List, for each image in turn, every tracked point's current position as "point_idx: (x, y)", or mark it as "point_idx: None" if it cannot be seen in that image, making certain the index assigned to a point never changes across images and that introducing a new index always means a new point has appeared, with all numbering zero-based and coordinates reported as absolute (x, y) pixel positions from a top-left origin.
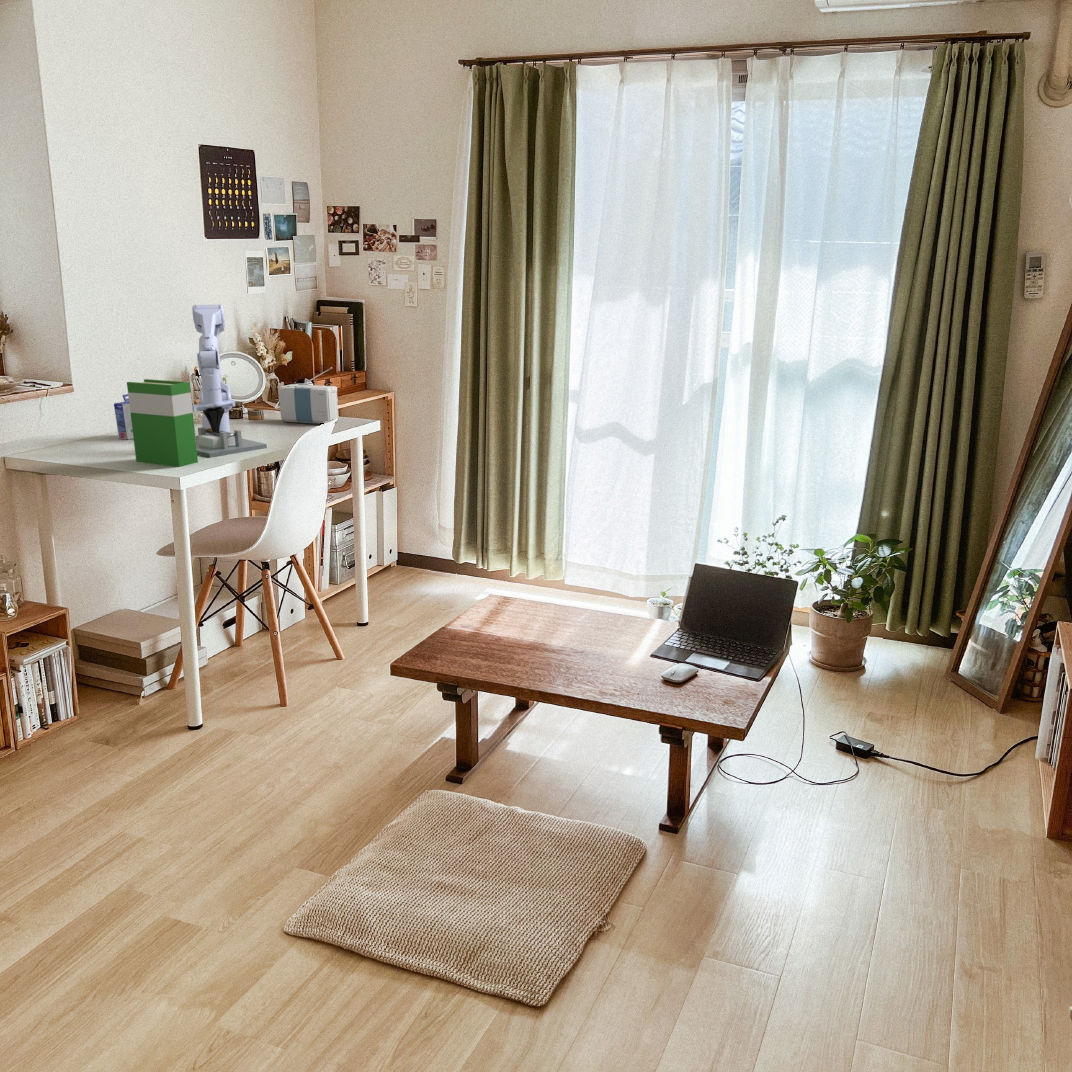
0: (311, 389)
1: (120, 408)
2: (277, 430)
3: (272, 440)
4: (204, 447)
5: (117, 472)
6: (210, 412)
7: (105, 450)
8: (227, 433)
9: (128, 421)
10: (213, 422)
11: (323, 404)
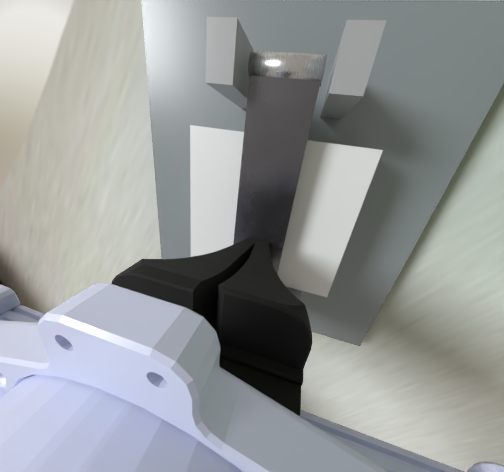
0: None
1: None
2: (43, 256)
3: (87, 150)
4: (361, 211)
5: None
6: (308, 325)
7: (465, 465)
8: (274, 124)
9: None
10: (272, 267)
11: None
